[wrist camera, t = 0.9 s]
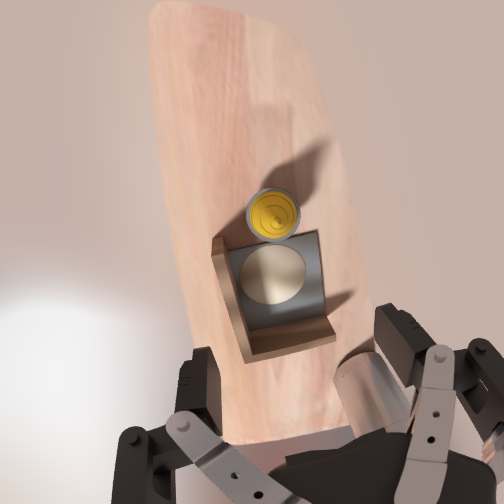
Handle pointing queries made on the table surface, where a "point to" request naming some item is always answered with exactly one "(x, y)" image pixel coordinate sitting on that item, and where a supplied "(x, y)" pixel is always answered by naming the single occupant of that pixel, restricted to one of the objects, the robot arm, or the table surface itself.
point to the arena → (274, 296)
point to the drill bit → (273, 214)
